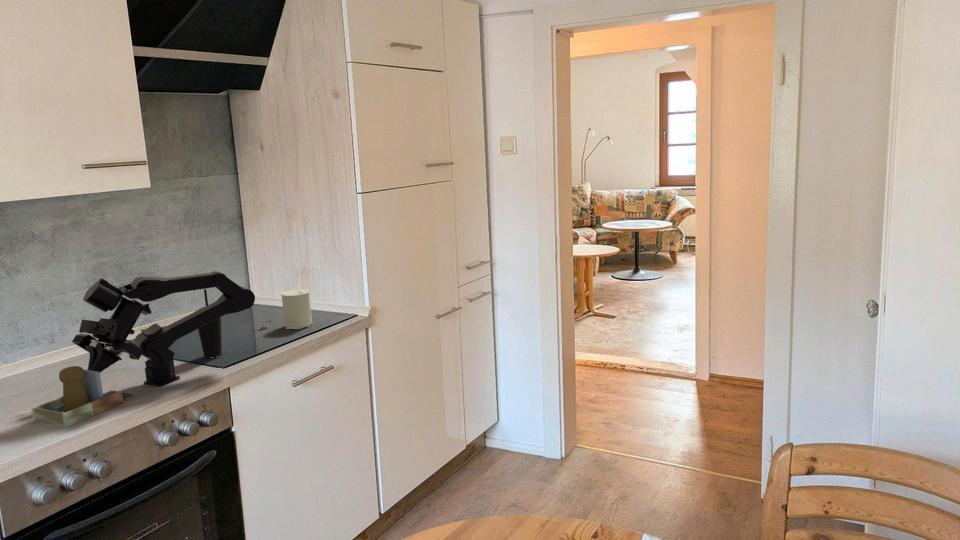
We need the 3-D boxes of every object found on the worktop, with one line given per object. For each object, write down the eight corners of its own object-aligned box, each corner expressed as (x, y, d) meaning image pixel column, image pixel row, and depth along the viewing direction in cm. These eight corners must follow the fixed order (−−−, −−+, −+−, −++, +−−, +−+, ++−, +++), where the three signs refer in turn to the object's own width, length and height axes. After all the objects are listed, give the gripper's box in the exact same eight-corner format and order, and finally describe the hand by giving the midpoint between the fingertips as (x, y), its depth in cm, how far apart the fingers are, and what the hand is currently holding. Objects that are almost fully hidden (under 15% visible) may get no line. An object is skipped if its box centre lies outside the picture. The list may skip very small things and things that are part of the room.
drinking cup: (227, 357, 202) (219, 290, 198) (199, 361, 199) (190, 293, 195) (226, 350, 209) (218, 285, 205) (199, 354, 206) (190, 288, 202)
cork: (97, 406, 168) (90, 362, 166) (84, 416, 163) (77, 371, 160) (71, 407, 168) (64, 364, 166) (58, 417, 162) (50, 372, 160)
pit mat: (111, 391, 178) (111, 390, 178) (134, 395, 175) (133, 393, 175) (97, 397, 174) (97, 395, 174) (120, 401, 171) (119, 399, 171)
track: (91, 397, 175) (89, 386, 174) (123, 402, 170) (121, 391, 169) (33, 420, 162) (31, 407, 161) (66, 426, 157) (64, 414, 156)
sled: (81, 403, 171) (75, 368, 169) (105, 407, 167) (99, 371, 165) (54, 414, 164) (47, 377, 163) (78, 418, 161) (72, 381, 159)
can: (298, 331, 227) (294, 295, 224) (278, 328, 231) (274, 292, 229) (318, 323, 234) (315, 289, 232) (298, 321, 239) (295, 286, 237)
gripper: (73, 302, 173) (36, 358, 166) (124, 307, 165) (88, 367, 158) (106, 324, 182) (73, 379, 174) (156, 330, 174) (124, 387, 166)
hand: (88, 377), depth 168 cm, fingers closed, pressing on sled
